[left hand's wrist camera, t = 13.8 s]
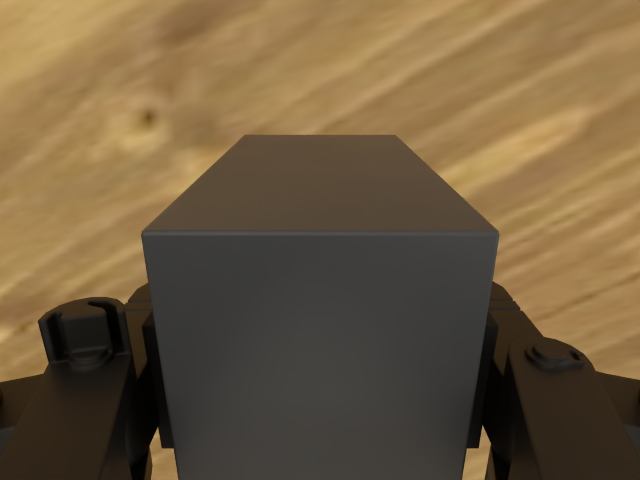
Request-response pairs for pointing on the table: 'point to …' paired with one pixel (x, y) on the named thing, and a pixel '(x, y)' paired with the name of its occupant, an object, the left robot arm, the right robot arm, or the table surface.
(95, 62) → the table surface
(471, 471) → the table surface
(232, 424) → the bar
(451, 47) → the table surface
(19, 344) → the table surface
